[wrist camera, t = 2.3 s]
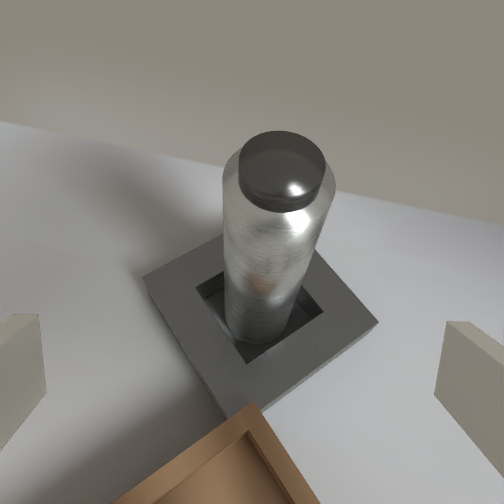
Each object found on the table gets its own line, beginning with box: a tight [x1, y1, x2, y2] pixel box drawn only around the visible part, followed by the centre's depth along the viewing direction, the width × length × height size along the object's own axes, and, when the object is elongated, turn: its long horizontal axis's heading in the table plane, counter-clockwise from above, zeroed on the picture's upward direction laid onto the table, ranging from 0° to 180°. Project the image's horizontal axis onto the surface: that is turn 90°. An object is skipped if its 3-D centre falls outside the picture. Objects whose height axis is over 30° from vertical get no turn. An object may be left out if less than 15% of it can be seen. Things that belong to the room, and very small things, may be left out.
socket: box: [142, 234, 379, 420], centre depth 26 cm, size 11×11×2 cm
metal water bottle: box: [223, 131, 336, 344], centre depth 21 cm, size 4×4×15 cm
